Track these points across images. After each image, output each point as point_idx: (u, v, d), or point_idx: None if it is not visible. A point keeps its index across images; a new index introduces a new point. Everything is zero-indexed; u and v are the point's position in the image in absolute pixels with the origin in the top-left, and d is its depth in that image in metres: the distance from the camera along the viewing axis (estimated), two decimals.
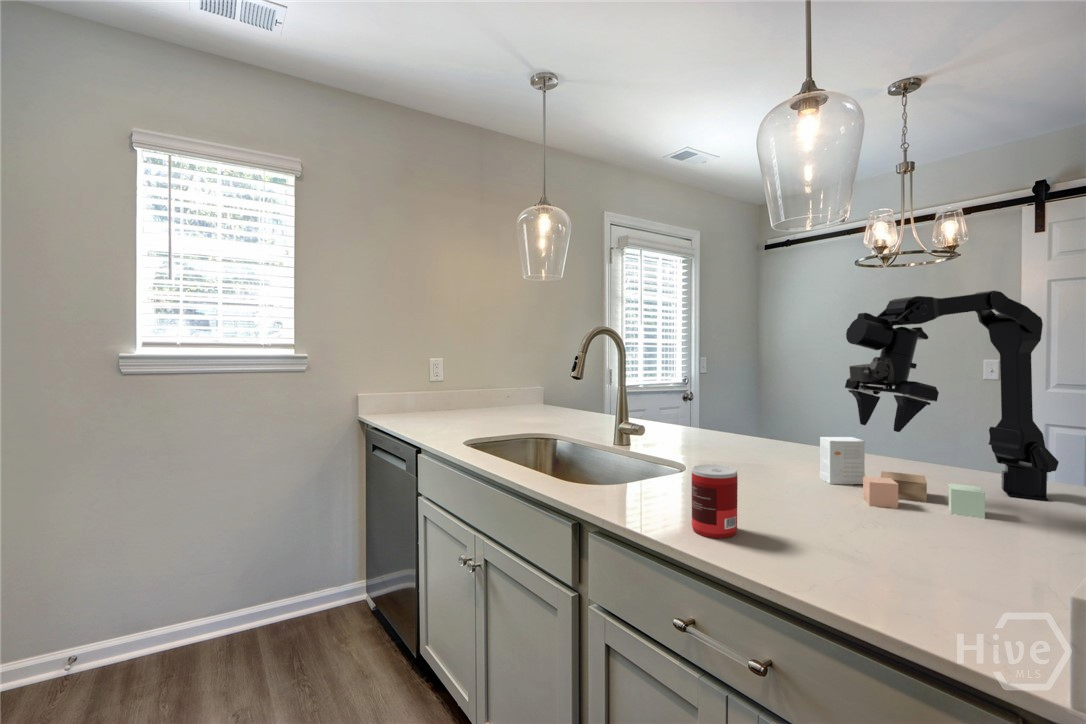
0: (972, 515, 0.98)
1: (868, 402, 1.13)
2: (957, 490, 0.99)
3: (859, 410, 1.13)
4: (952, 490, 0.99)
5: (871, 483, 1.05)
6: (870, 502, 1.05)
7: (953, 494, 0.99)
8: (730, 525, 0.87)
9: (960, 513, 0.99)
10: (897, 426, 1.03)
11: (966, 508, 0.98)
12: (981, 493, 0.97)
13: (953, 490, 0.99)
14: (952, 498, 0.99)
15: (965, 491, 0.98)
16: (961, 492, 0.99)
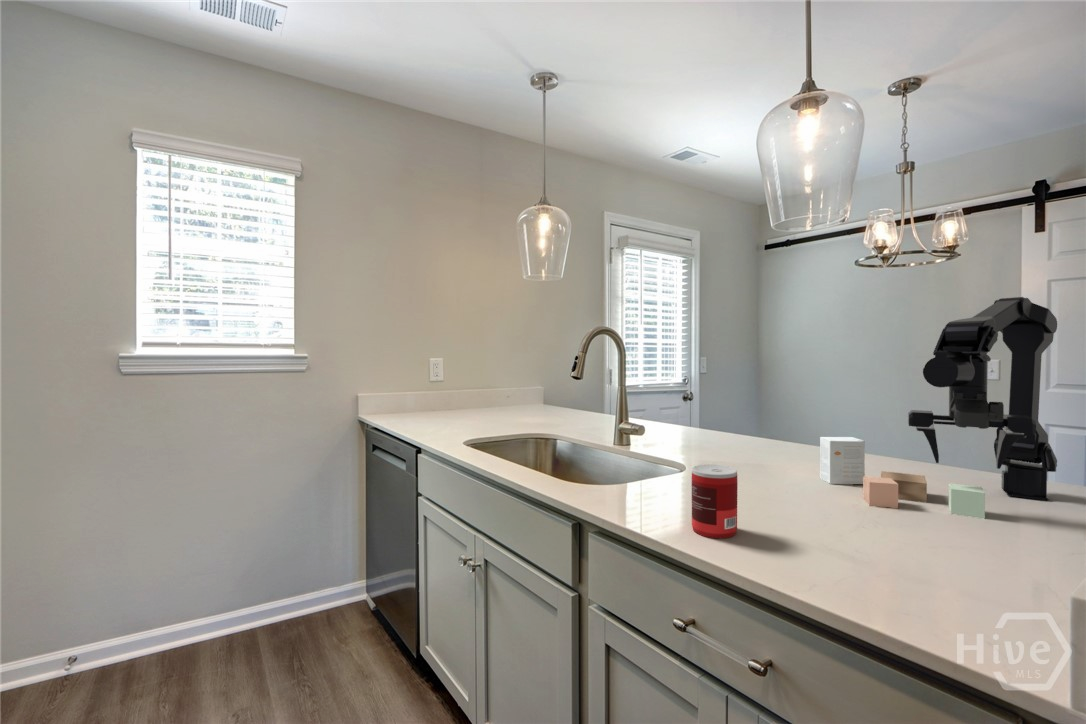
0: (972, 515, 0.98)
1: None
2: (957, 490, 0.99)
3: (933, 448, 1.02)
4: (952, 490, 0.99)
5: (871, 483, 1.05)
6: (870, 502, 1.05)
7: (953, 494, 0.99)
8: (730, 525, 0.87)
9: (960, 513, 0.99)
10: (1002, 463, 0.97)
11: (966, 508, 0.98)
12: (981, 493, 0.97)
13: (953, 490, 0.99)
14: (952, 498, 0.99)
15: (965, 491, 0.98)
16: (961, 492, 0.99)
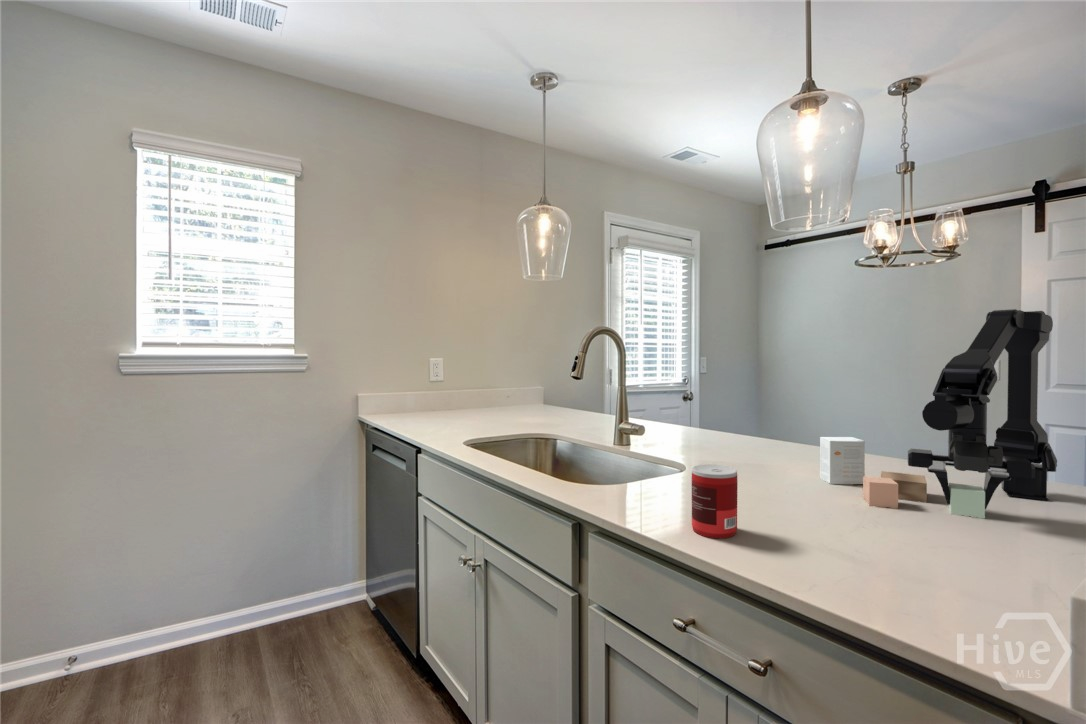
0: (972, 514, 0.98)
1: None
2: (957, 489, 0.99)
3: (945, 490, 1.01)
4: (952, 489, 0.99)
5: (871, 483, 1.05)
6: (870, 502, 1.05)
7: (953, 493, 0.99)
8: (730, 525, 0.87)
9: (960, 512, 0.99)
10: (987, 504, 0.98)
11: (966, 508, 0.98)
12: (981, 492, 0.97)
13: (953, 489, 0.99)
14: (952, 497, 0.99)
15: (965, 490, 0.98)
16: (961, 491, 0.99)
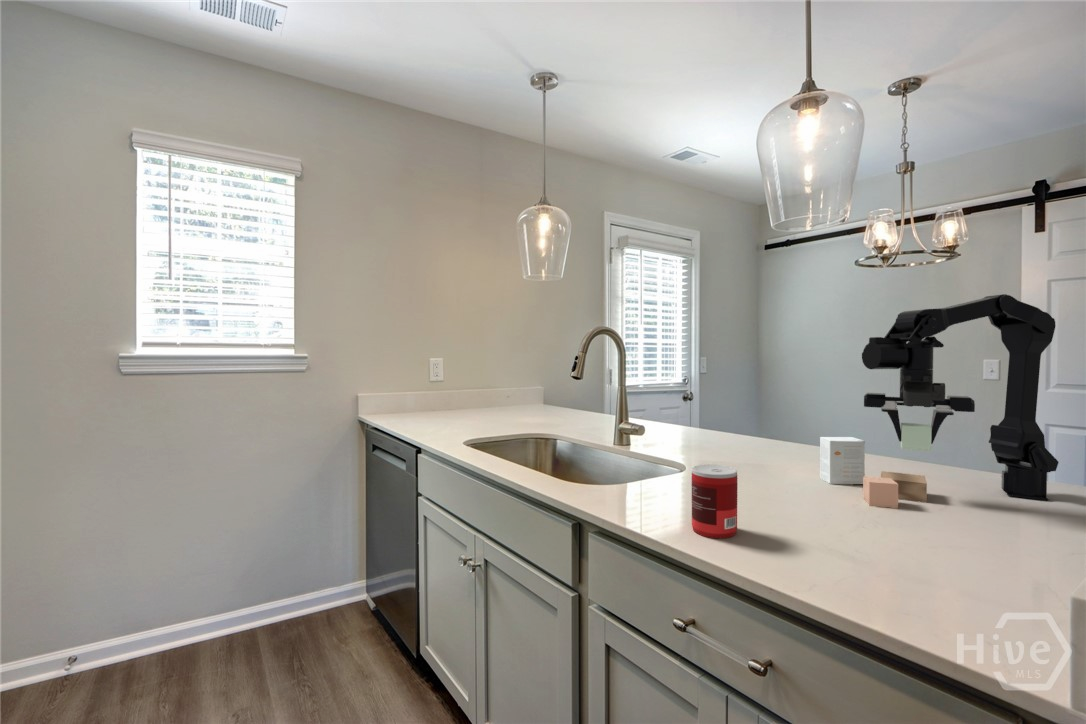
0: (920, 448, 1.07)
1: None
2: (907, 426, 1.08)
3: (896, 428, 1.10)
4: (903, 426, 1.09)
5: (870, 483, 1.05)
6: (870, 502, 1.05)
7: (903, 430, 1.08)
8: (730, 525, 0.87)
9: (910, 447, 1.08)
10: None
11: (915, 442, 1.07)
12: (928, 428, 1.06)
13: (903, 426, 1.08)
14: (903, 434, 1.09)
15: (914, 427, 1.07)
16: (910, 428, 1.08)
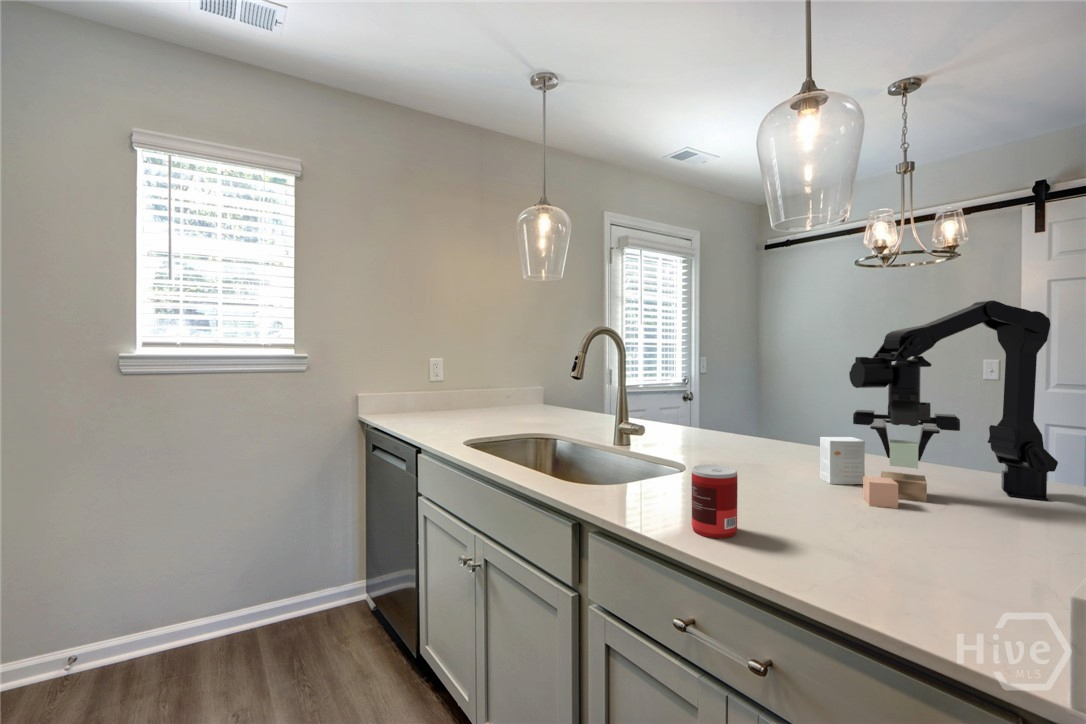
0: (907, 465, 1.10)
1: (887, 434, 1.14)
2: (895, 443, 1.11)
3: (885, 445, 1.13)
4: (890, 444, 1.11)
5: (870, 483, 1.05)
6: (870, 502, 1.05)
7: (891, 447, 1.11)
8: (730, 525, 0.87)
9: (897, 464, 1.11)
10: (921, 456, 1.10)
11: (902, 459, 1.10)
12: (915, 445, 1.09)
13: (891, 444, 1.11)
14: (890, 451, 1.11)
15: (901, 444, 1.10)
16: (898, 445, 1.11)
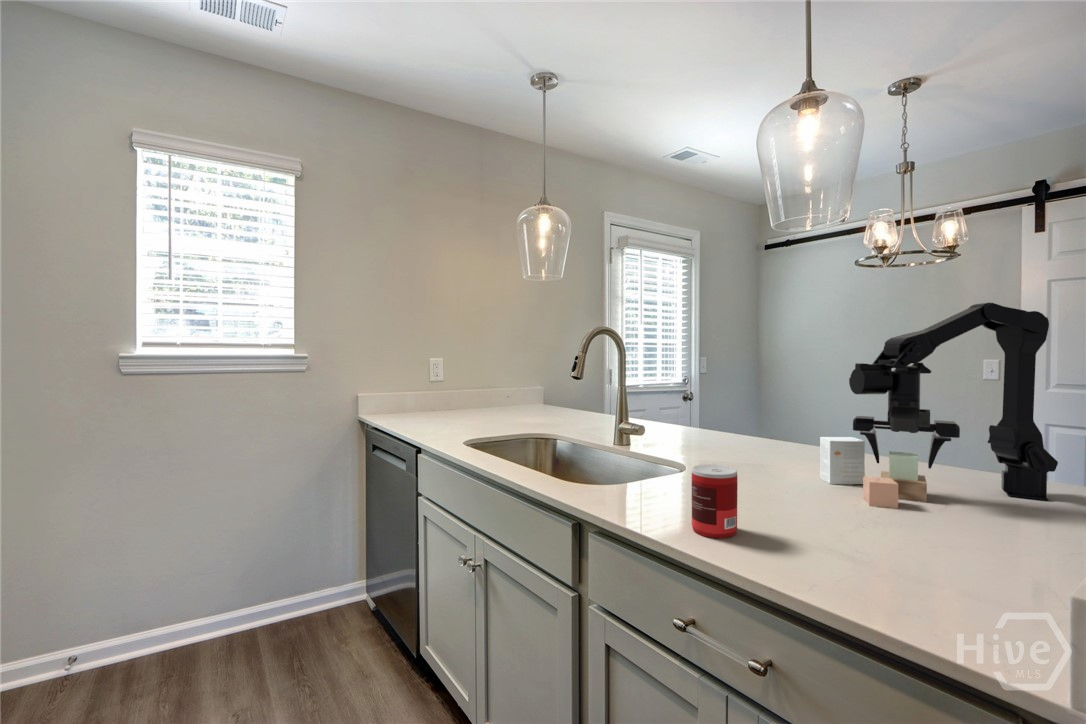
0: (907, 478, 1.10)
1: (876, 440, 1.15)
2: (894, 456, 1.11)
3: (874, 450, 1.14)
4: (890, 456, 1.11)
5: (871, 483, 1.05)
6: (870, 502, 1.05)
7: (891, 459, 1.11)
8: (730, 525, 0.87)
9: (897, 476, 1.11)
10: (932, 464, 1.09)
11: (902, 472, 1.10)
12: (915, 458, 1.09)
13: (891, 456, 1.11)
14: (890, 463, 1.11)
15: (901, 456, 1.10)
16: (898, 457, 1.11)
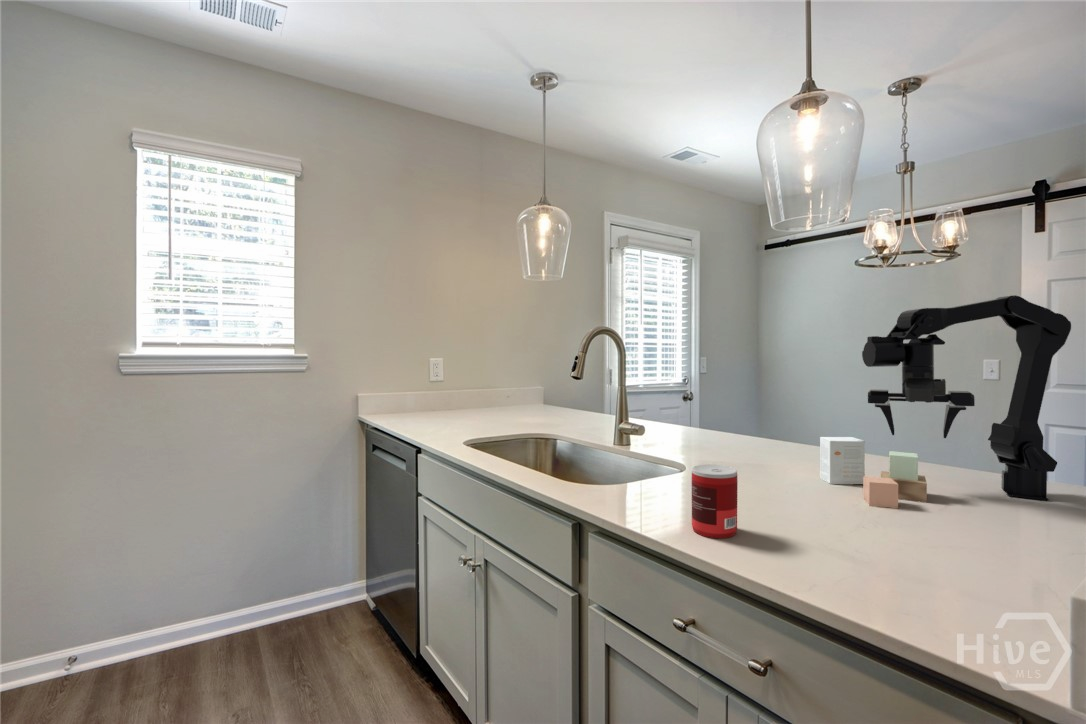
0: (907, 478, 1.10)
1: None
2: (894, 456, 1.11)
3: (889, 422, 1.16)
4: (890, 456, 1.11)
5: (871, 483, 1.05)
6: (870, 502, 1.05)
7: (891, 459, 1.11)
8: (730, 525, 0.87)
9: (897, 476, 1.11)
10: (947, 433, 1.11)
11: (902, 472, 1.10)
12: (915, 458, 1.09)
13: (891, 456, 1.11)
14: (890, 463, 1.11)
15: (901, 456, 1.10)
16: (898, 457, 1.11)
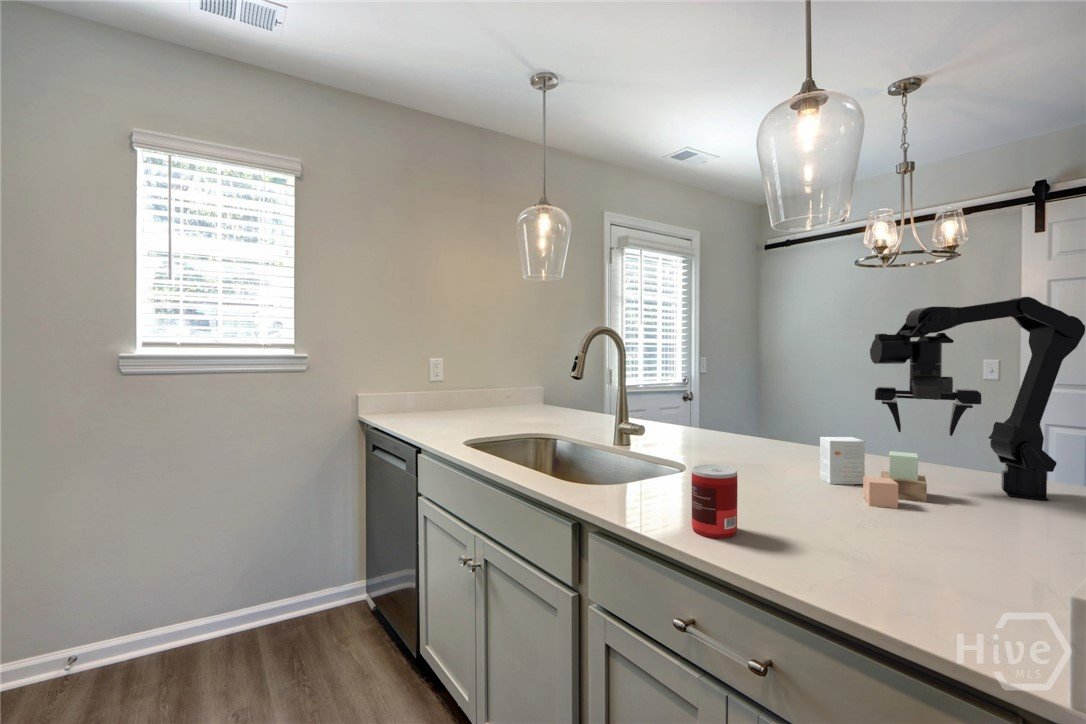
0: (907, 478, 1.10)
1: None
2: (894, 456, 1.11)
3: (896, 419, 1.17)
4: (890, 456, 1.11)
5: (871, 483, 1.05)
6: (870, 502, 1.05)
7: (891, 459, 1.11)
8: (730, 525, 0.87)
9: (897, 476, 1.11)
10: (953, 431, 1.12)
11: (902, 472, 1.10)
12: (915, 458, 1.09)
13: (891, 456, 1.11)
14: (890, 463, 1.11)
15: (901, 456, 1.10)
16: (898, 457, 1.11)
